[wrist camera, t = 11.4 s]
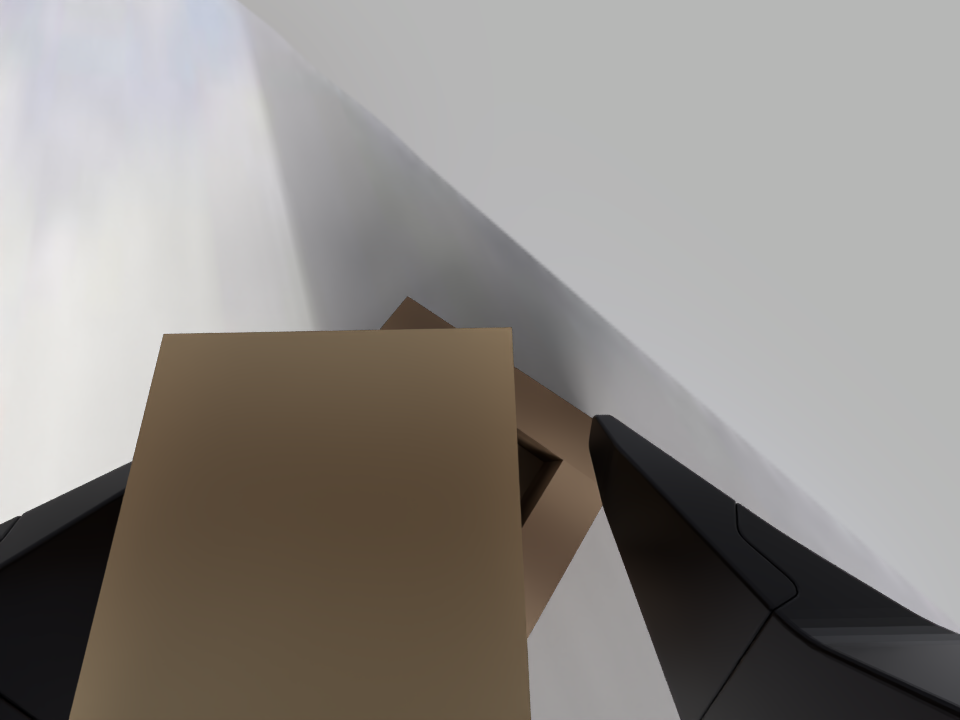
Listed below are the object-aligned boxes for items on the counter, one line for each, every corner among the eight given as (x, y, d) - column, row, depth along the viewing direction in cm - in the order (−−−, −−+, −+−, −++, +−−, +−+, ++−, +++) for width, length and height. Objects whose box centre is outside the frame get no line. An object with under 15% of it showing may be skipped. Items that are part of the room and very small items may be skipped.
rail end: (495, 534, 15) (559, 803, 3) (391, 536, 15) (19, 817, 3) (492, 429, 17) (527, 311, 4) (396, 431, 17) (150, 317, 4)
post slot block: (471, 658, 15) (466, 746, 10) (292, 508, 17) (217, 524, 12) (592, 452, 17) (635, 446, 13) (425, 339, 19) (407, 296, 14)
